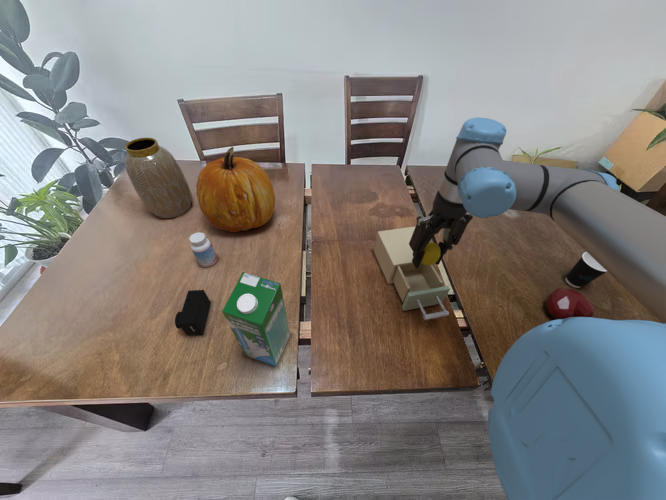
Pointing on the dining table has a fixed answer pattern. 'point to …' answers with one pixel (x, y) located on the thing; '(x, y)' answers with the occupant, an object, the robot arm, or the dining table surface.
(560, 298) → the heart
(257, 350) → the milk carton
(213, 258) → the pill bottle
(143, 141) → the vase
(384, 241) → the cabinet
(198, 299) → the digital camera
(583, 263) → the dixie cup
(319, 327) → the dining table surface
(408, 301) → the drawer
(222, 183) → the pumpkin
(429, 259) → the lemon
